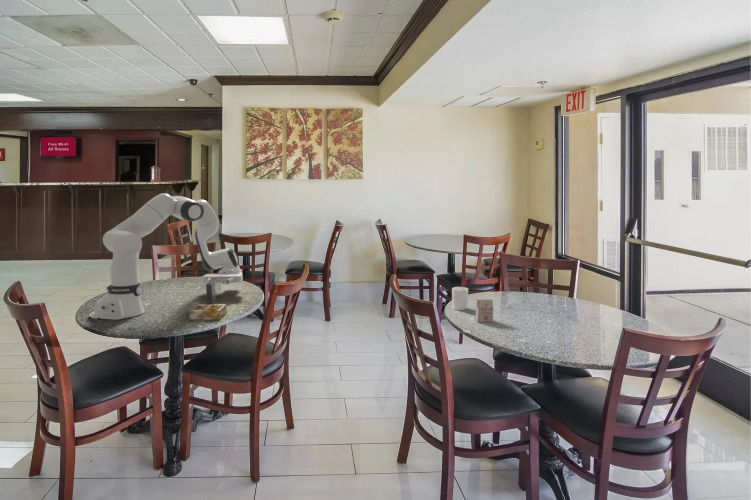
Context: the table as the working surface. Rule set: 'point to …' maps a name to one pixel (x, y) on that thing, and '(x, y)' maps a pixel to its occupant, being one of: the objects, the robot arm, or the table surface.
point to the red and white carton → (484, 311)
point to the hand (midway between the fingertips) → (218, 281)
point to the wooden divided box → (208, 312)
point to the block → (210, 293)
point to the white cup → (459, 298)
